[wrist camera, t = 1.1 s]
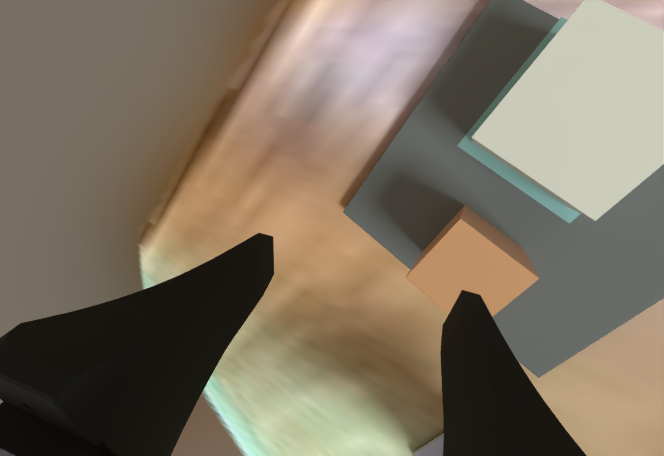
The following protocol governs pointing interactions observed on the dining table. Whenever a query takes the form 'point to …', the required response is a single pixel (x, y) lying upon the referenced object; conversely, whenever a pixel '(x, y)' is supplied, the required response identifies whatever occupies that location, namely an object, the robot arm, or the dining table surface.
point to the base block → (586, 111)
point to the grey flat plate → (514, 200)
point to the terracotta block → (472, 264)
